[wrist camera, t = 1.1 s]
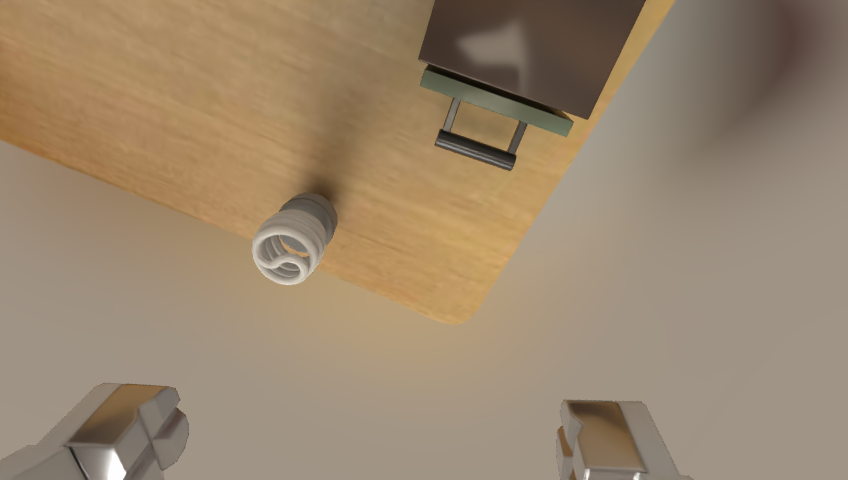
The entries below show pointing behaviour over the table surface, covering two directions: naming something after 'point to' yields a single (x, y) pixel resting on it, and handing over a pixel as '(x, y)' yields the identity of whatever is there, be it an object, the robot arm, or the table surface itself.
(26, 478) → the robot arm
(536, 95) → the cabinet
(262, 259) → the light bulb
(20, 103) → the table surface
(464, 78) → the drawer
